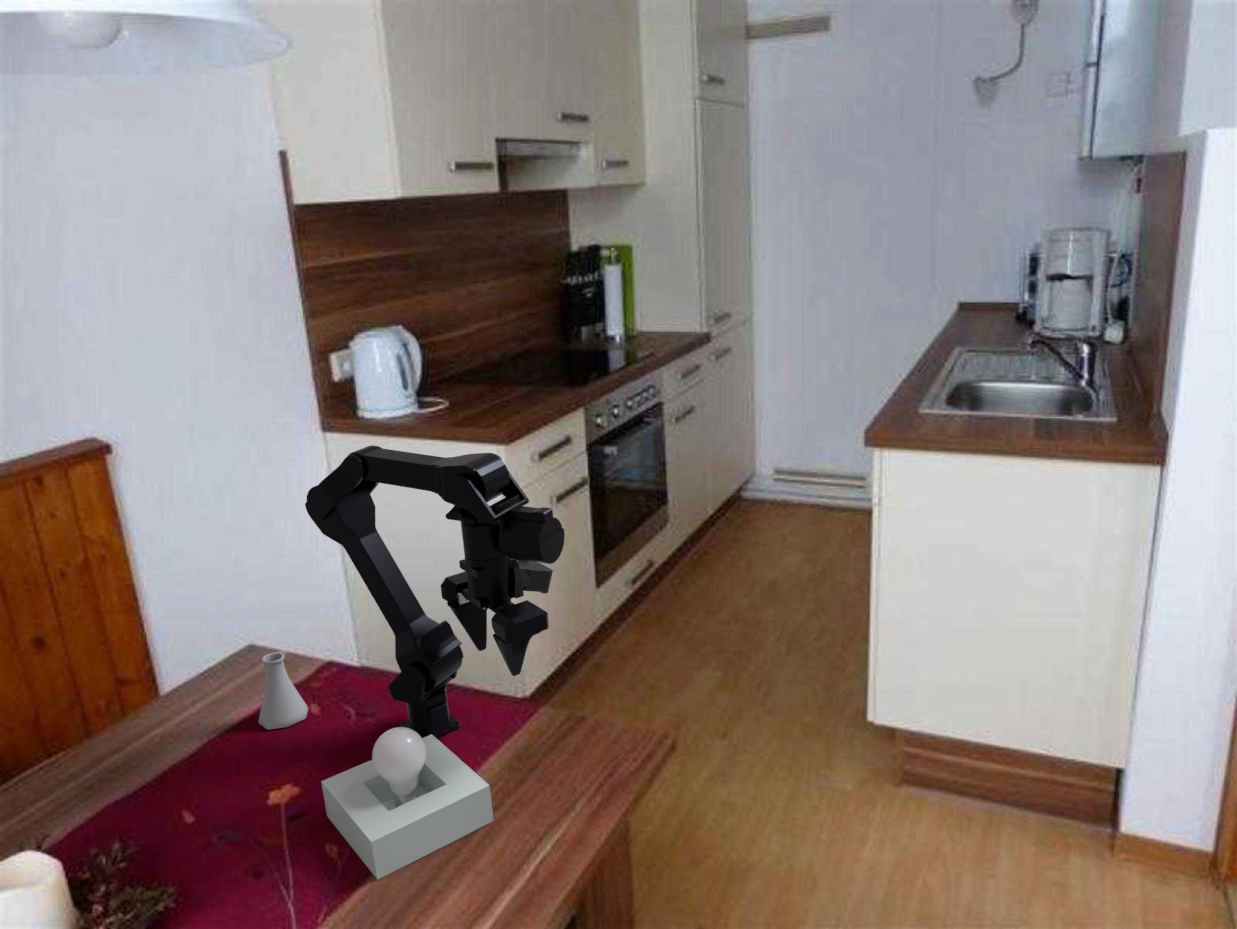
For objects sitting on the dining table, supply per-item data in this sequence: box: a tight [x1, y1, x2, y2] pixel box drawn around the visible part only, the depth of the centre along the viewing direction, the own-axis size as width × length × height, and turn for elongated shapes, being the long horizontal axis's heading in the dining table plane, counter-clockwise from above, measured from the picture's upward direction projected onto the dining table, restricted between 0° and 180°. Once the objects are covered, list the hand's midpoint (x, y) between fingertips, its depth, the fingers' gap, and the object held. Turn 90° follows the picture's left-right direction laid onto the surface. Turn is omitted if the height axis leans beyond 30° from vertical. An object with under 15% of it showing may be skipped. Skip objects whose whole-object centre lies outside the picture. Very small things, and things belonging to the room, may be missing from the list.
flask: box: [257, 651, 309, 731], centre depth 138 cm, size 7×7×10 cm
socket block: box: [320, 734, 494, 881], centre depth 114 cm, size 15×15×5 cm
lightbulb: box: [371, 726, 426, 808], centre depth 113 cm, size 6×6×11 cm
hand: (498, 661), depth 125 cm, fingers open, 9 cm apart
